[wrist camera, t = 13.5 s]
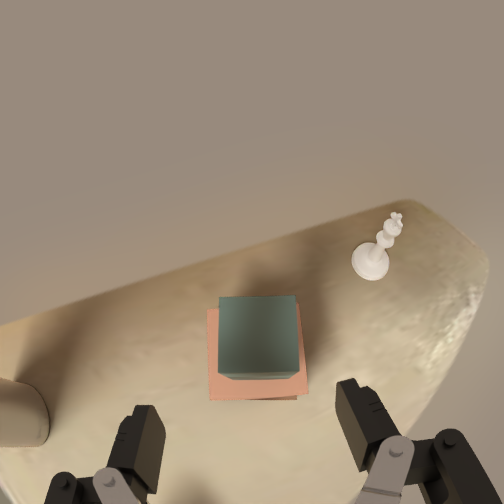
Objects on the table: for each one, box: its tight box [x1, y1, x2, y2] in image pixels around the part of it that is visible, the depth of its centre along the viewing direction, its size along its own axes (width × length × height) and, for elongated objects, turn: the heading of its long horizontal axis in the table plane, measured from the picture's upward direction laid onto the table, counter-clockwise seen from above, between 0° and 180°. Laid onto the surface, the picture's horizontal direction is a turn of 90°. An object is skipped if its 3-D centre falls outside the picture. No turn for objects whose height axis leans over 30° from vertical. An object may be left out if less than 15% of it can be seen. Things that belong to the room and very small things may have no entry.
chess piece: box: [352, 212, 403, 281], centre depth 29 cm, size 5×5×10 cm
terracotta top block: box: [207, 303, 308, 400], centre depth 25 cm, size 8×8×4 cm
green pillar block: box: [218, 295, 300, 380], centre depth 20 cm, size 4×4×8 cm
